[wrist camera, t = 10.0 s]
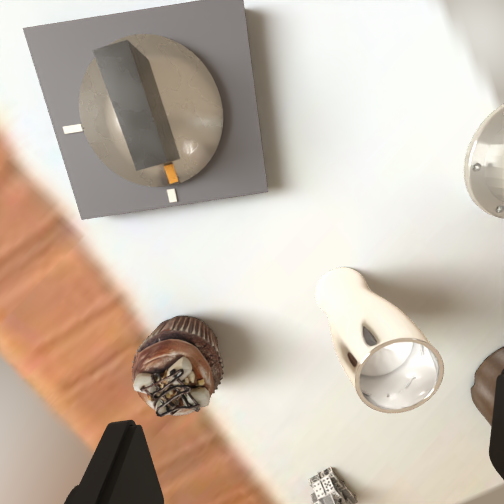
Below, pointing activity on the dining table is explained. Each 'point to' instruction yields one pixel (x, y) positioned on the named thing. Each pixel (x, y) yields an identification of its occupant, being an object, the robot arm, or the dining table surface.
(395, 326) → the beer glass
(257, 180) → the control panel
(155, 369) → the cupcake
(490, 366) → the plant pot
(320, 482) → the house of cards
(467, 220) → the dining table surface
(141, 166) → the dial
